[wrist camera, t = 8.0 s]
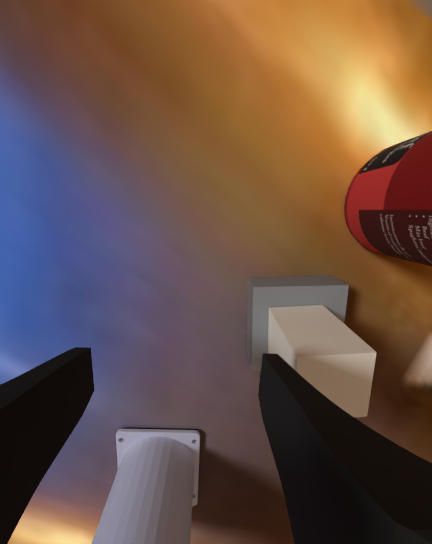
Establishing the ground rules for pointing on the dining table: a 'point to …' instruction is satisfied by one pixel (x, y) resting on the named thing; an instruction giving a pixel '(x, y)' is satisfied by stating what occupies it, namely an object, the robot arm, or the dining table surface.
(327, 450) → the robot arm
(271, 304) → the grey square block
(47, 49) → the dining table surface
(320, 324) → the cream block
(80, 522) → the dining table surface
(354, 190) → the canned food
